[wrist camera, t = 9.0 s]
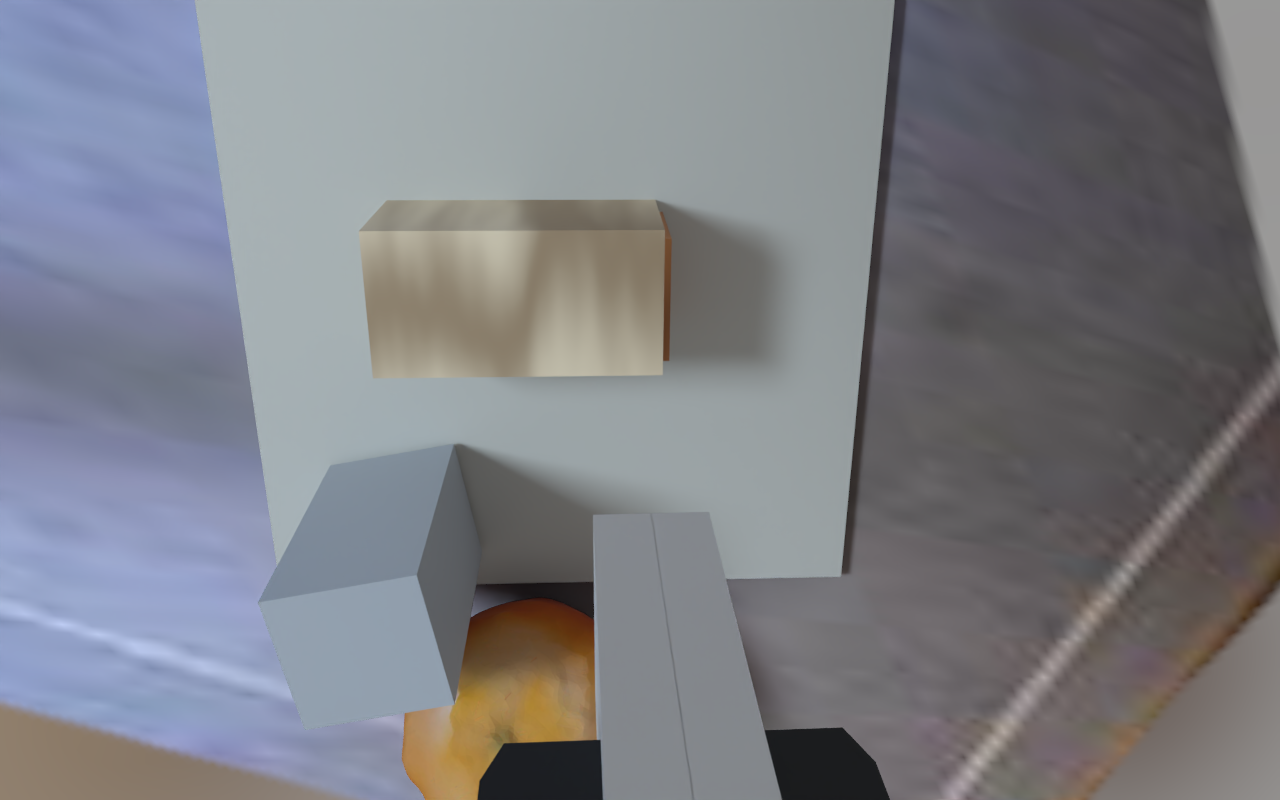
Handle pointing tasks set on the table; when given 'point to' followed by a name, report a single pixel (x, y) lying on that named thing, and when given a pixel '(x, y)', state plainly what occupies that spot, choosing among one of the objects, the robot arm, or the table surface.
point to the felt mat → (567, 170)
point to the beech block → (517, 288)
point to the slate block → (377, 589)
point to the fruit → (506, 695)
